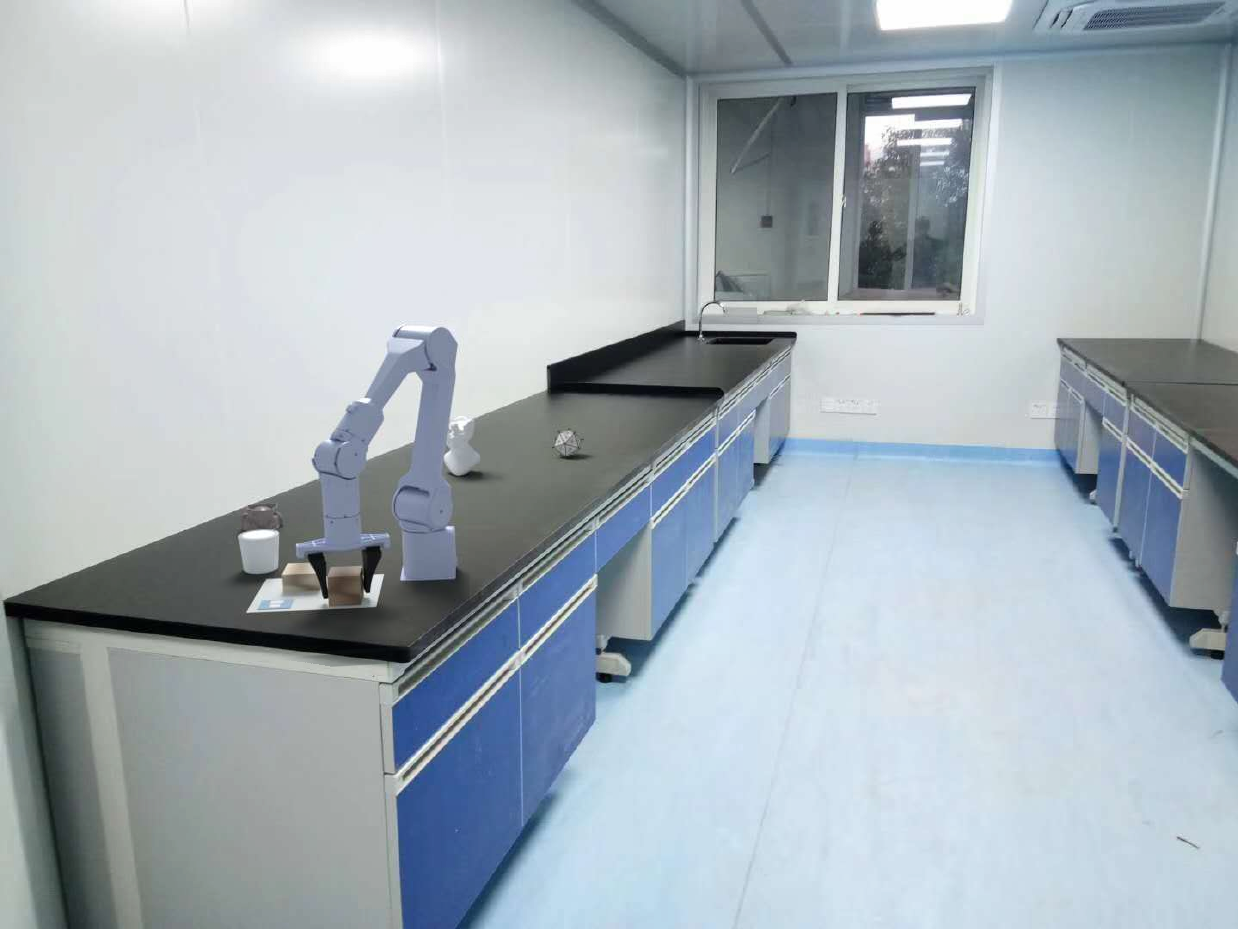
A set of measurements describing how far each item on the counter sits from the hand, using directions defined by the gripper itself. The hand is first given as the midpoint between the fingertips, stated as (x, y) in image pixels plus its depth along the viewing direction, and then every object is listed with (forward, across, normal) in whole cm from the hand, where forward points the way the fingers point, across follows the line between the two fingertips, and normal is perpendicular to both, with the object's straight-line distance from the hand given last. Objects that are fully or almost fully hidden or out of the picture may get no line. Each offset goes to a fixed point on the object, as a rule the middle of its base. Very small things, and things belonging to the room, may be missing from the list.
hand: (346, 594), depth 156 cm
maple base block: (+1, +5, -10) cm, 12 cm away
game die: (+2, -77, -92) cm, 120 cm away
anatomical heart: (+2, -42, -82) cm, 92 cm away
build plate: (+2, +4, -6) cm, 7 cm away
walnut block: (+1, 0, 0) cm, 1 cm away
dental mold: (+2, +8, -50) cm, 51 cm away
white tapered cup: (+2, +11, -22) cm, 25 cm away
